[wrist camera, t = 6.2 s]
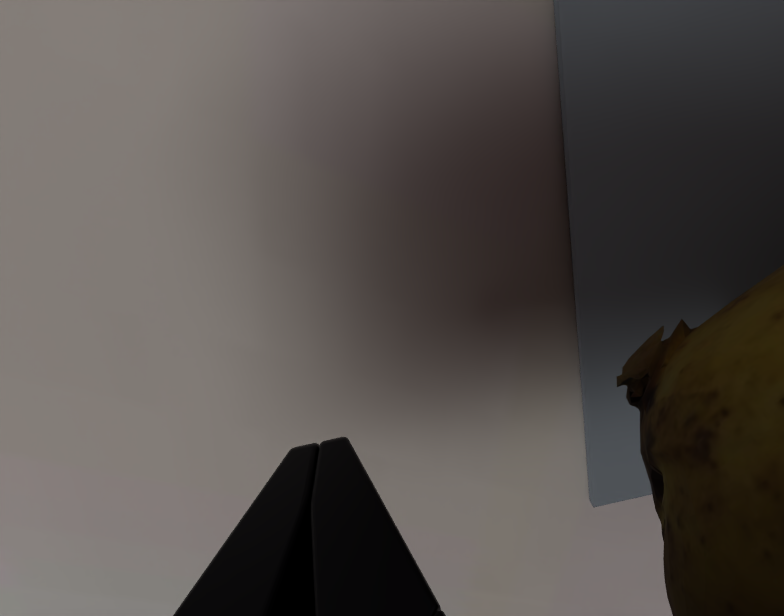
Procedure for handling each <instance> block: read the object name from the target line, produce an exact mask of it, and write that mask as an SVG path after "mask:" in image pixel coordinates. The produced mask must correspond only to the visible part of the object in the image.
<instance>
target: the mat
mask: <svg viewBox="0 0 784 616" xmlns="http://www.w3.org/2000/svg"><path fill="white" fill-rule="evenodd" d="M554 14H555V28H556V41H557V55H558V69H559V83H560V97H561V111H562V125H563V138H564V152H565V166H566V180H567V194H568V208H569V222H570V236H571V249H572V263H573V277H574V291H575V305H576V319H577V333H578V346H579V360H580V374H581V388H582V402H583V416H584V430H585V443H586V457H587V471H588V485H589V499H590V502H591V504H592V506H593V507H597V506H602V505H606V504H611V503H615V502H619V501H624V500H628V499H633V498H637V497H642V496H646V495H650V494H652V489H651V484H650V481H649V478H648V474H647V471H646V468H645V465H644V462H643V459H642V455H641V452H640V411H639V409H638V408H636V407H634V406H631V405H630V404H629V402H628V400H627V398H626V393H627V386H626V385H621V386H619V387H617V376H620V375H621V374H622V368H623V366H624V365H625V363H626V362H627V360H628V359H629V358H630V357H631V355H632V354H633V353H634V352H635V351H636V350H637V349H638V348H639V347H640V346H641V345H642V344H643V343H644V342H645V341H646V340H647V339H648V338H649V337H650V336H652V335H653V334H654V333H655V332H656V331H657V330H659V329H660V328H661V327H662V326H664V332H663V336H662V339H661V341H663V340H665V339H667V338H669V337H670V336H671V334H672V333H673V331H674V330H675V328H676V327H677V325H678V324H679V322H680V321H681V319H683V321H684V322H685V323H686V324H687V325H688V327H689V328H690V329H693V328H696V327H698V326H700V325H701V324H702V323H704V322H705V321H706V320H708V319H709V318H710V317H712V316H713V315H714V314H716V313H717V312H718V311H720V310H721V309H722V308H724V307H725V306H726V305H728V304H729V303H730V302H731V301H733V300H734V299H736V298H737V297H739V296H740V295H741V294H743V293H744V292H746V291H747V290H748V289H750V288H751V287H753V286H754V285H756V284H757V283H758V282H760V281H761V280H763V279H764V278H766V277H767V276H768V275H770V274H771V273H773V272H774V271H775V270H777V269H778V268H780V267H781V266H782V265H784V0H554Z"/></svg>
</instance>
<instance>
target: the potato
mask: <svg viewBox="0 0 784 616" xmlns="http://www.w3.org/2000/svg"><path fill="white" fill-rule="evenodd" d="M663 332H664V326H662V327H661V328H660V329H659V330H657V331H656V332H655V333H654V334H653V335H652V336H650V337H649V338H648V339H647V340H646V341H645V342H644V343H643V344H642V345H641V346H640V347H639V348H638V349H637V350H636V351H635V352H634V353H633V354H632V355H631V357H630V358H629V359H628V360H627V362H626V363H625V365H624V366H623V368H622V374H621V375H620V376H617V387H619V386H621V385H626V386H627V393H626V398H627V400H628V402H629V404H630V405H631V406H634V407H636V408H638V409H639V411H640V452H641V455H642V459H643V462H644V465H645V468H646V471H647V474H648V478H649V481H650V484H651V489H652V494H653V499H654V504H655V509H656V512H657V514H658V516H659V519H660V521H661V524H662V536H663V540H664V576H665V584H666V590H667V597H668V600H669V604H670V607H671V610H672V614H673V616H784V265H782V266H781V267H780V268H778V269H777V270H775V271H774V272H773V273H771V274H770V275H768V276H767V277H766V278H764V279H763V280H761V281H760V282H758V283H757V284H756V285H754V286H753V287H751V288H750V289H748V290H747V291H746V292H744V293H743V294H741V295H740V296H739V297H737V298H736V299H734V300H733V301H731V302H730V303H729V304H728V305H726V306H725V307H724V308H722V309H721V310H720V311H718V312H717V313H716V314H714V315H713V316H712V317H710V318H709V319H708V320H706V321H705V322H704V323H702V324H701V325H700V326H698V327H696V328H693V329H690V328H689V327H688V325H687V324H686V323H685V322H684V321H683V319H681V321H680V322H679V324H678V325H677V327H676V328H675V330H674V331H673V333H672V334H671V336H670V337H669V338H667V339H665V340H663V341H661V339H662V336H663Z"/></svg>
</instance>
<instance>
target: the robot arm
mask: <svg viewBox="0 0 784 616" xmlns="http://www.w3.org/2000/svg"><path fill="white" fill-rule="evenodd" d="M173 616H446V615H445V614H444V612H443V611H441V608H440V605H439V603H438V601H437V600H436V598H435V596H434V594H433V592H432V591H431V589H430V587H429V585H428V583H427V581H426V580H425V578H424V576H423V574H422V572H421V570H420V569H419V567H418V565H417V563H416V561H415V560H414V558H413V556H412V554H411V552H410V550H409V549H408V547H407V545H406V543H405V541H404V540H403V538H402V536H401V534H400V532H399V530H398V529H397V527H396V525H395V523H394V521H393V520H392V518H391V516H390V514H389V512H388V510H387V509H386V507H385V505H384V503H383V501H382V499H381V498H380V496H379V494H378V492H377V490H376V489H375V487H374V485H373V483H372V481H371V479H370V478H369V476H368V474H367V472H366V470H365V469H364V467H363V465H362V463H361V461H360V459H359V458H358V456H357V454H356V452H355V450H354V448H353V447H352V445H351V443H350V441H349V440H348V438H346V437H340V438H335V439H331V440H326V441H323V442H322V443H321V444H320V445H319V444H317V443H312V444H308V445H303V446H298V447H295V448H292V449H291V450H290V451H289V452H288V454H287V455H286V456H285V458H284V459H283V461H282V462H281V463H280V465H279V466H278V468H277V469H276V471H275V472H274V473H273V475H272V476H271V478H270V479H269V481H268V482H267V483H266V485H265V486H264V488H263V489H262V490H261V492H260V493H259V495H258V496H257V498H256V499H255V500H254V502H253V503H252V505H251V506H250V507H249V509H248V510H247V512H246V513H245V515H244V516H243V517H242V519H241V520H240V522H239V523H238V524H237V526H236V527H235V529H234V530H233V532H232V533H231V534H230V536H229V537H228V539H227V540H226V541H225V543H224V544H223V546H222V547H221V549H220V550H219V551H218V553H217V554H216V556H215V557H214V558H213V560H212V561H211V563H210V564H209V566H208V567H207V568H206V570H205V571H204V573H203V574H202V575H201V577H200V578H199V580H198V581H197V583H196V584H195V585H194V587H193V588H192V590H191V591H190V592H189V594H188V595H187V597H186V598H185V600H184V601H183V602H182V604H181V605H180V607H179V608H178V610H177V611H176V612H175V614H174V615H173Z"/></svg>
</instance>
